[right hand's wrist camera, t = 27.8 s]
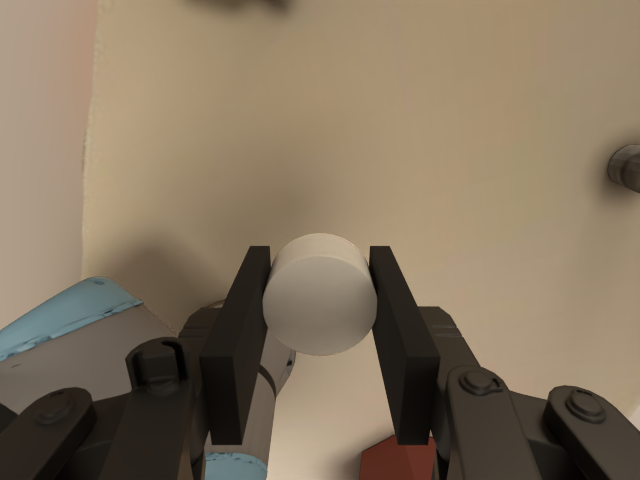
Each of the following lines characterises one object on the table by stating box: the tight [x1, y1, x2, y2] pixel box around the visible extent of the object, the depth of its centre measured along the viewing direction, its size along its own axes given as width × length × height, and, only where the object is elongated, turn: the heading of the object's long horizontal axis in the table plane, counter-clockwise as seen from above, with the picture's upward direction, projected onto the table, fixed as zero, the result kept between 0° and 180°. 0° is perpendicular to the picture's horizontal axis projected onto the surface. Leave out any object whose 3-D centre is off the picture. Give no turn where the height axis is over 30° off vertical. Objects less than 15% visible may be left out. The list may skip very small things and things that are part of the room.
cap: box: [263, 233, 377, 356], centre depth 14 cm, size 4×4×2 cm
